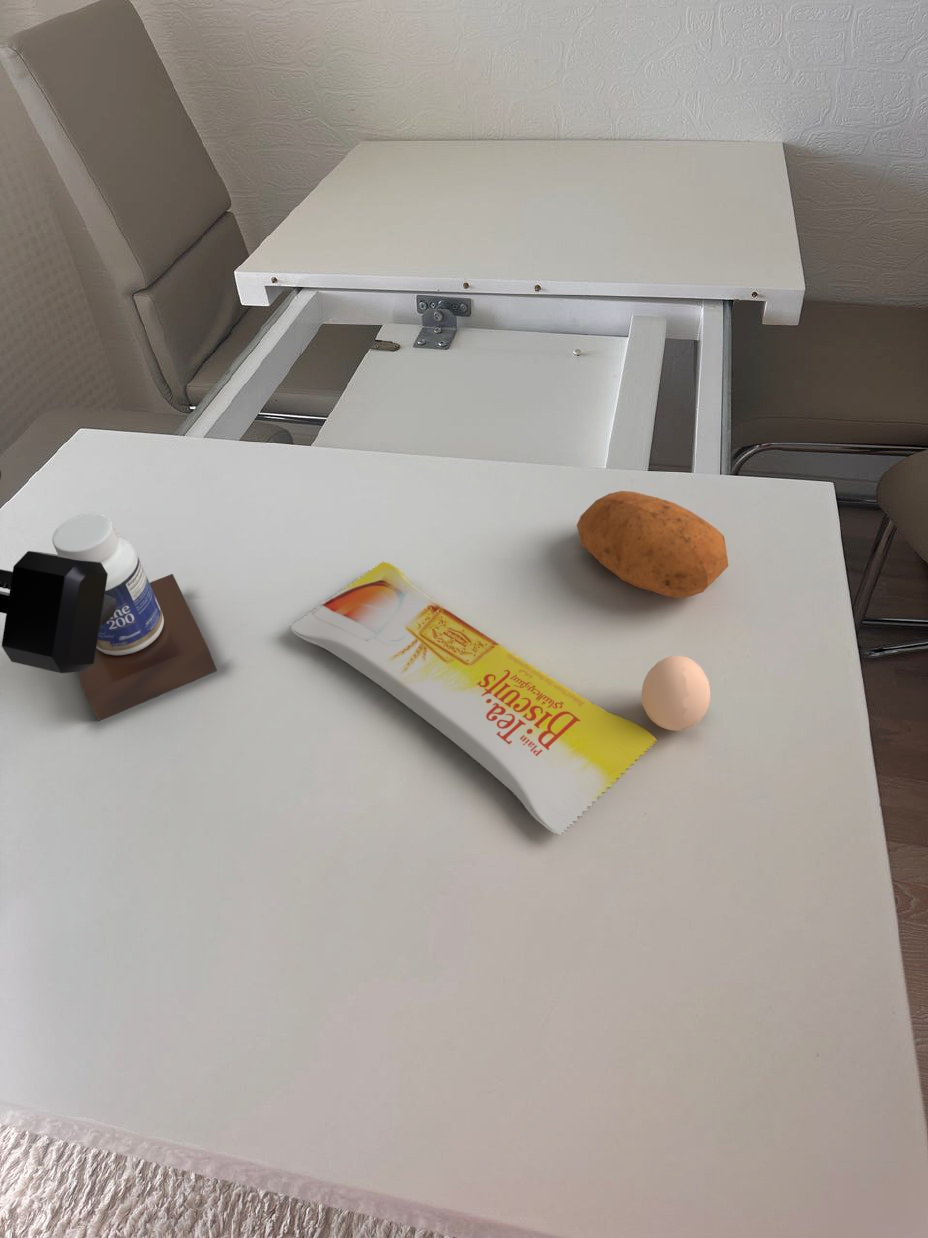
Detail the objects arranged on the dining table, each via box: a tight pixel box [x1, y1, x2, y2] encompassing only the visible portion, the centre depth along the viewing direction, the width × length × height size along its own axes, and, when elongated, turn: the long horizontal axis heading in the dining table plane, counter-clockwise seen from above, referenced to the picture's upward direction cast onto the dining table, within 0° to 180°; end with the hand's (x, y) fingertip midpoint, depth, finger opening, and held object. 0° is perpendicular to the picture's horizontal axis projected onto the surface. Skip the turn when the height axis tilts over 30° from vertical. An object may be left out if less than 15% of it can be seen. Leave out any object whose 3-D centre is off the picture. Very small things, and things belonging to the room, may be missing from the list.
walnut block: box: [76, 573, 218, 721], centre depth 72 cm, size 9×9×3 cm
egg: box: [641, 655, 711, 732], centre depth 63 cm, size 4×4×6 cm
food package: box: [289, 560, 658, 837], centre depth 67 cm, size 27×2×10 cm
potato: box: [576, 490, 729, 599], centre depth 73 cm, size 7×13×7 cm, turn 38°
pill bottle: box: [51, 512, 164, 655], centre depth 67 cm, size 5×5×10 cm
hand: (53, 594), depth 62 cm, fingers open, 9 cm apart
